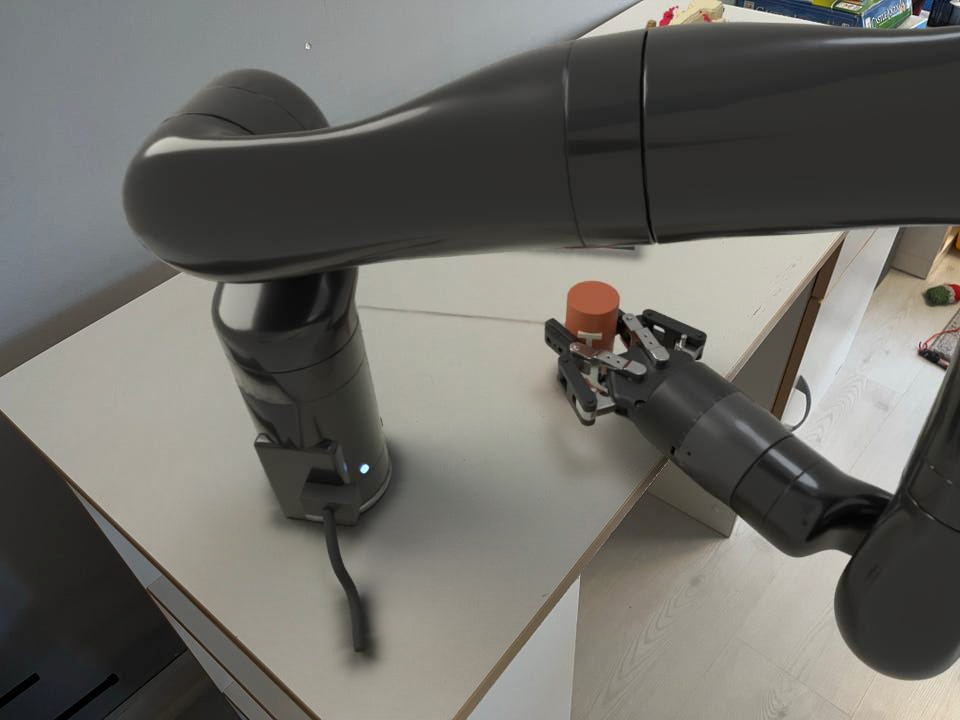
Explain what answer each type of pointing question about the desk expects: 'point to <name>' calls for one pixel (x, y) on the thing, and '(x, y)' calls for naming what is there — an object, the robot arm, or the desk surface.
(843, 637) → the robot arm
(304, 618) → the desk surface
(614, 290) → the pillar
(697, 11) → the cream and red piece
